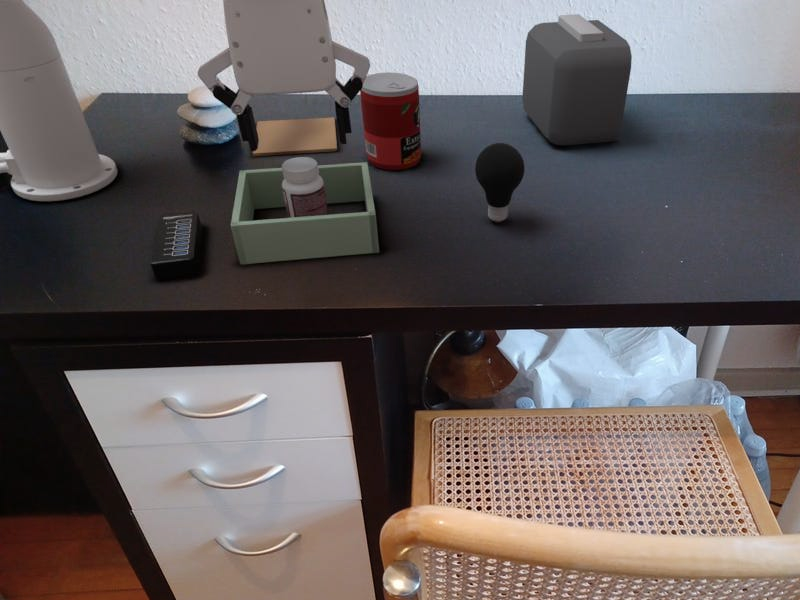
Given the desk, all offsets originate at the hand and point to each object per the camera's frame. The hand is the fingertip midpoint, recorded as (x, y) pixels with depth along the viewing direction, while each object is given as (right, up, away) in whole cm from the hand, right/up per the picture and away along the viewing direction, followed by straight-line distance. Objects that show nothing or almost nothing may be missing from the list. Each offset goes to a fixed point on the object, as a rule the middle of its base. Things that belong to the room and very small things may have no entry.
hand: (299, 142), depth 73 cm
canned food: (+8, +5, +23) cm, 24 cm away
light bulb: (+22, -7, +10) cm, 25 cm away
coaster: (-8, +10, +28) cm, 30 cm away
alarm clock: (+34, +13, +32) cm, 48 cm away
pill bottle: (-1, -8, +7) cm, 11 cm away
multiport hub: (-14, -12, +3) cm, 19 cm away
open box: (-1, -8, +7) cm, 11 cm away
